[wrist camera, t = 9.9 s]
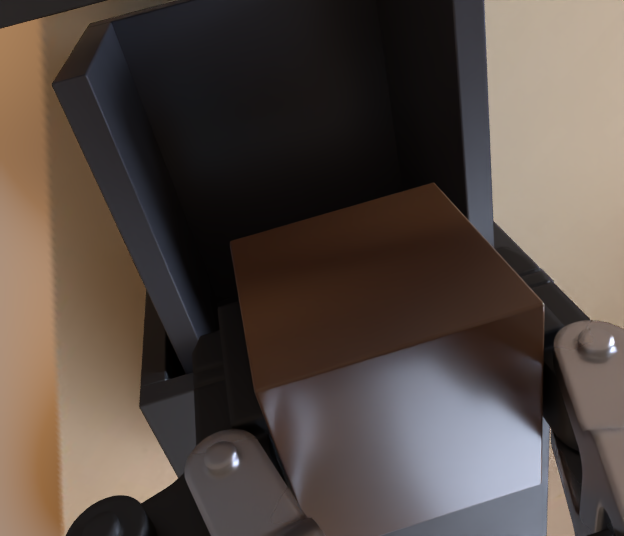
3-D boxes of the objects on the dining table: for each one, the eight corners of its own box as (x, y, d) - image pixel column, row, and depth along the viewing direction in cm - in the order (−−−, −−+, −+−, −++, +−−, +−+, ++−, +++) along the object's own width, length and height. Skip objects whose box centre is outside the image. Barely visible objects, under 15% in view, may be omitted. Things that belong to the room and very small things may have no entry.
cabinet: (148, 241, 25) (138, 406, 17) (433, 159, 25) (554, 280, 17) (248, 470, 33) (272, 650, 25) (458, 405, 34) (546, 560, 26)
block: (280, 389, 15) (316, 557, 11) (228, 240, 12) (253, 392, 8) (450, 338, 15) (542, 485, 11) (434, 181, 12) (546, 303, 9)
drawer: (-49, -249, 15) (-209, -355, 9) (372, -349, 16) (511, -516, 9) (188, 310, 26) (194, 449, 19) (435, 237, 26) (521, 348, 20)
